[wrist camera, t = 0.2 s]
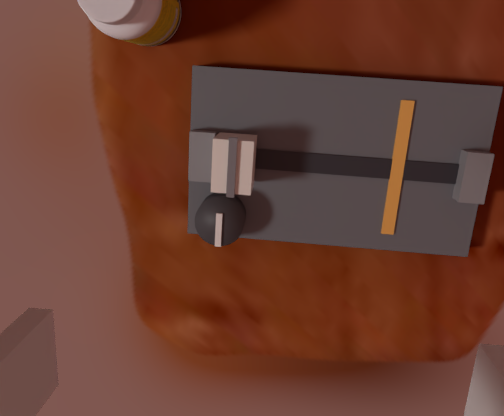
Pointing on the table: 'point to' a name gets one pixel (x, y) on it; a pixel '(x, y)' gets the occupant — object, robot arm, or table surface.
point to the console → (344, 159)
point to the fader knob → (233, 163)
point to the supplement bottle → (135, 19)
